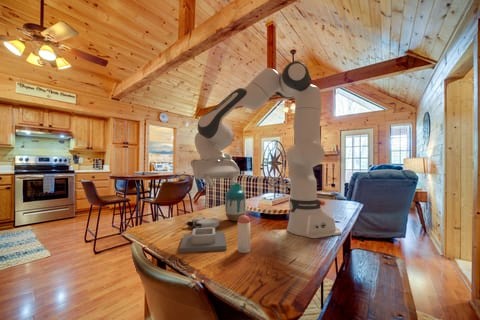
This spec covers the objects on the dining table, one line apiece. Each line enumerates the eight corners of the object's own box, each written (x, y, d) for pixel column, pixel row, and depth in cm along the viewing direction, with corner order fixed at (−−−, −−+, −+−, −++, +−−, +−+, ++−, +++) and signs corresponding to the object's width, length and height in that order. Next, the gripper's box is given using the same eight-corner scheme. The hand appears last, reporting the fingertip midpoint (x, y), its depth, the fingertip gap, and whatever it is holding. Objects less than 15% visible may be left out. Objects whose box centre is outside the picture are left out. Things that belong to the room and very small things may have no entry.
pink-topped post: (249, 247, 75) (249, 213, 75) (251, 252, 71) (251, 216, 71) (236, 248, 74) (236, 213, 74) (238, 253, 70) (238, 217, 70)
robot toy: (182, 230, 96) (203, 235, 87) (182, 220, 97) (202, 224, 87) (203, 223, 106) (224, 228, 96) (203, 214, 106) (223, 218, 96)
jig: (224, 235, 87) (224, 224, 87) (226, 250, 73) (226, 237, 73) (184, 237, 85) (184, 226, 85) (179, 252, 71) (179, 239, 71)
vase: (224, 223, 103) (224, 184, 103) (225, 217, 114) (225, 182, 114) (246, 223, 103) (245, 184, 103) (245, 217, 114) (245, 182, 114)
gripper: (191, 154, 83) (201, 181, 75) (234, 155, 95) (247, 178, 87) (187, 165, 87) (196, 191, 79) (228, 164, 98) (240, 188, 91)
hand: (223, 184), depth 83 cm, fingers open, 8 cm apart
